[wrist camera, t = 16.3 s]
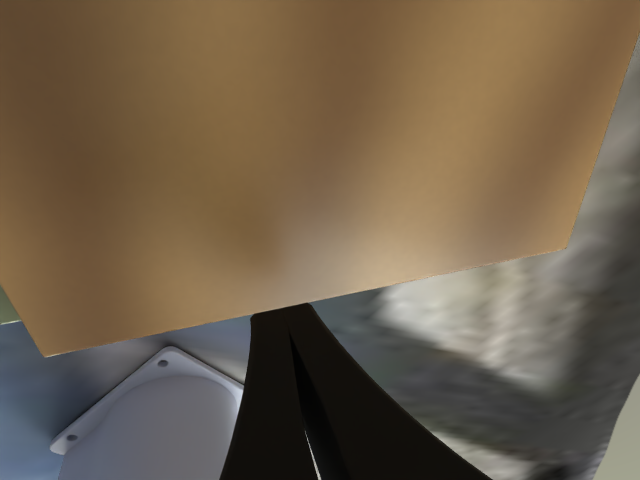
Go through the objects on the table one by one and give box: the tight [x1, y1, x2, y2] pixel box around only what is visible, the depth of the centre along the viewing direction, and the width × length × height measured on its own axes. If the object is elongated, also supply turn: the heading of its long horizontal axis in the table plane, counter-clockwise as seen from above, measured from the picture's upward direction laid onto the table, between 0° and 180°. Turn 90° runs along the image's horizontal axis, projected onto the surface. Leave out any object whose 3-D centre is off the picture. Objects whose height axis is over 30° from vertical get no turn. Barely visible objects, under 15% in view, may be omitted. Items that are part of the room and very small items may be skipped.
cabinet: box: [0, 0, 640, 357], centre depth 12 cm, size 16×14×8 cm
